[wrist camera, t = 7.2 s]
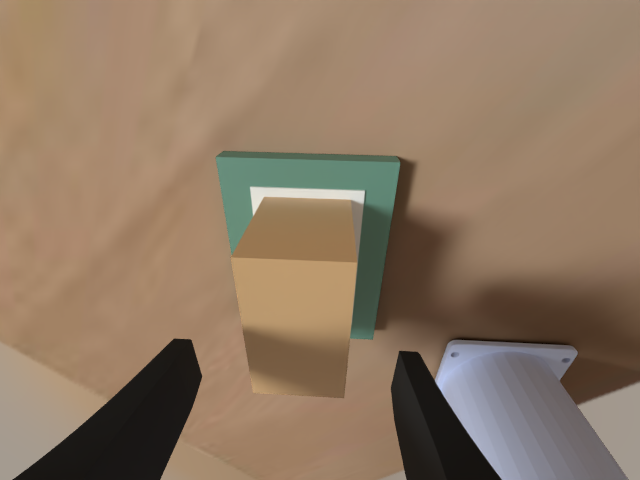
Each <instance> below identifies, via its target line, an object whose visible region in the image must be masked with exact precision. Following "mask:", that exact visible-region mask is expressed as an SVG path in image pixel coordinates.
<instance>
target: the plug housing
mask: <svg viewBox="0 0 640 480" xmlns="http://www.w3.org/2000/svg"><path fill="white" fill-rule="evenodd" d="M231 262H232V268H233V274H234V280H235V286H236V293H237V299H238V305H239V311H240V317H241V323H242V329H243V335H244V341H245V347H246V353H247V359H248V365H249V371H250V377H251V383H252V389H253V393H263V394H281V395H298V396H316V397H334V398H344V394H345V384H346V374H347V363H348V353H349V343H350V333H351V322H352V312H353V302H354V292H355V282H356V271H357V254H356V245H355V235H354V225H353V215H352V206H351V200H347V199H318V198H288V197H264V198H263V199H262V201H261V203H260V205H259V207H258V209H257V210H256V212H255V214H254V216H253V218H252V219H251V221H250V223H249V225H248V227H247V229H246V230H245V232H244V234H243V236H242V238H241V239H240V241H239V243H238V245H237V247H236V249H235V250H234V252H233V254H232V256H231Z"/></svg>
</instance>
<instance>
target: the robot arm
mask: <svg viewBox="0 0 640 480" xmlns="http://www.w3.org/2000/svg"><path fill="white" fill-rule="evenodd" d="M577 354H578V352H577V350H576V349H575V348H574V347H573V346H570V345H552V344H531V343H511V342H491V341H471V340H452V341H450V342H449V343H448V344H447V347H446V350H445V353H444V356H443V359H442V362H441V364H440V367H439V370H438V373H437V376H436V379H435V380H434V379H433V377H432V375H431V373H430V372H429V370H428V368H427V366H426V365H425V363H424V361H423V359H422V357H421V355H420V354H419V353H418V352H410V351H399V355H398V359H397V363H396V368H395V372H394V377H393V381H392V385H391V393H392V403H393V412H394V421H395V426H396V431H397V436H398V441H399V446H400V450H401V455H402V460H403V465H404V470H405V474H406V479H407V480H629V479H628V478H627V477H626V475H625V474H624V472H623V471H622V469H621V468H620V467H619V465H618V464H617V462H616V461H615V459H614V458H613V457H612V455H611V454H610V452H609V451H608V449H607V448H606V447H605V445H604V444H603V442H602V441H601V440H600V438H599V437H598V435H597V434H596V432H595V431H594V430H593V428H592V427H591V426H590V424H589V422H588V421H587V420H586V418H585V417H584V416H583V414H582V412H581V411H580V410H579V408H578V407H577V405H576V404H575V402H574V401H573V400H572V398H571V397H570V395H569V394H568V392H567V391H566V390H565V388H564V387H563V385H562V384H561V382H560V379H561V378H562V376H563V375H564V373H565V372H566V371H567V369H568V368H569V366H570V365H571V363H572V362H573V360H574V359H575V358H576V356H577ZM201 379H202V374H201V371H200V367H199V364H198V361H197V357H196V354H195V351H194V347H193V344H192V340H190V339H173V340H172V341H171V342H170V343H169V344H168V345H167V346H166V347H165V348H164V349H163V350H162V351H161V352H160V353H159V354H158V355H157V356H156V357H155V358H154V359H153V360H152V361H151V362H149V363H148V364H147V365H146V366H145V367H144V368H143V369H142V370H141V371H140V372H139V373H138V374H137V375H136V376H135V377H134V378H133V379H132V380H131V381H130V382H129V383H128V384H127V385H126V386H124V387H123V388H122V389H121V390H120V391H119V392H118V393H117V394H116V395H115V396H114V397H113V398H112V399H111V400H109V401H108V402H107V403H106V404H105V405H104V406H103V407H102V408H101V409H99V410H98V411H97V412H96V413H95V414H94V415H93V416H91V417H90V418H89V419H88V420H87V421H86V422H85V423H83V424H82V425H81V426H80V427H79V428H78V429H76V430H75V431H74V432H73V433H72V434H70V435H69V436H68V437H67V438H66V439H64V440H63V441H62V442H61V443H60V444H58V445H57V446H56V447H55V448H53V449H52V450H51V451H50V452H48V453H47V454H46V455H45V456H43V457H42V458H41V459H39V460H38V461H37V462H36V463H34V464H33V465H32V466H30V467H29V468H28V469H27V470H25V471H24V472H22V473H21V474H20V475H18V476H17V477H16V478H14V479H13V480H160V479H161V476H162V474H163V472H164V470H165V467H166V465H167V463H168V461H169V458H170V456H171V454H172V452H173V450H174V448H175V445H176V443H177V441H178V439H179V436H180V434H181V432H182V430H183V427H184V425H185V423H186V421H187V418H188V416H189V414H190V412H191V409H192V407H193V404H194V401H195V398H196V395H197V392H198V389H199V385H200V382H201Z"/></svg>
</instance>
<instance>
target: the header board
mask: <svg viewBox="0 0 640 480" xmlns="http://www.w3.org/2000/svg"><path fill="white" fill-rule="evenodd" d="M216 162H217V168H218V174H219V180H220V186H221V192H222V199H223V205H224V211H225V217H226V223H227V229H228V235H229V242H230V248H231V254H233V252H234V250H235V249H236V247H237V245H238V243H239V241H240V239H241V238H242V236H243V234H244V232H245V230H246V229H247V227H248V225H249V223H250V221H251V219H252V218H253V216H254V214H255V212H256V210H257V209H258V207H259V205H260V203H261V201H262V199H263V198H264V197H288V198H318V199H347V200H351V206H352V215H353V225H354V235H355V245H356V254H357V271H356V282H355V292H354V302H353V312H352V322H351V333H350V338H352V339H372V340H373V335H374V329H375V323H376V316H377V310H378V303H379V297H380V290H381V284H382V278H383V271H384V265H385V258H386V252H387V245H388V239H389V233H390V226H391V220H392V213H393V207H394V200H395V194H396V188H397V181H398V175H399V168H400V161H399V159H398V158H397V156H373V155H338V154H304V153H270V152H235V151H223V152H221V153H220V154H219V155H218V156H216Z"/></svg>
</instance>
